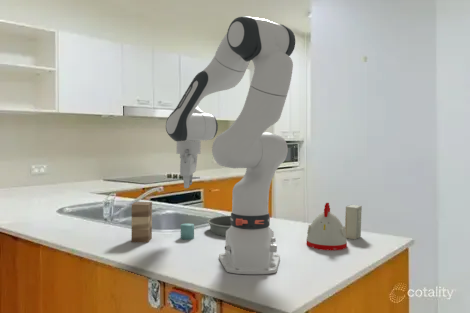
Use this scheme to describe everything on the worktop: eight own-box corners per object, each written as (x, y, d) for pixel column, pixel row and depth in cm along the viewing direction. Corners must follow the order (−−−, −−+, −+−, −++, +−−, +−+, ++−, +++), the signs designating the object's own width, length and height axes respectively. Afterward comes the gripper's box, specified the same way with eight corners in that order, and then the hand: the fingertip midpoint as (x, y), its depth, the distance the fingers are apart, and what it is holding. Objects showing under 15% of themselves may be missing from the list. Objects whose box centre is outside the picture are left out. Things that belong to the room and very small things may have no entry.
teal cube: (193, 239, 148) (193, 226, 148) (179, 239, 148) (179, 226, 148) (194, 236, 153) (194, 223, 153) (181, 236, 153) (181, 223, 153)
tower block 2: (148, 229, 144) (148, 217, 143) (131, 229, 144) (131, 216, 143) (151, 226, 150) (151, 214, 149) (135, 226, 150) (135, 213, 149)
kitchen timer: (302, 247, 140) (303, 204, 139) (310, 239, 152) (311, 199, 152) (344, 252, 134) (345, 207, 134) (348, 242, 147) (349, 201, 147)
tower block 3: (148, 242, 144) (148, 229, 144) (131, 242, 144) (131, 229, 144) (151, 238, 150) (151, 226, 150) (135, 238, 150) (135, 226, 150)
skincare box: (350, 235, 159) (350, 204, 159) (361, 236, 157) (362, 205, 156) (344, 238, 154) (345, 206, 154) (355, 239, 152) (356, 207, 151)
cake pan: (268, 226, 175) (268, 216, 175) (267, 239, 151) (267, 227, 151) (212, 224, 178) (212, 214, 178) (202, 237, 153) (202, 225, 153)
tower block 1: (148, 217, 143) (148, 204, 143) (131, 216, 143) (131, 204, 143) (151, 214, 149) (151, 202, 149) (135, 213, 149) (135, 201, 149)
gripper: (194, 149, 139) (193, 190, 140) (199, 148, 160) (198, 183, 160) (175, 149, 139) (175, 189, 140) (183, 148, 160) (182, 183, 160)
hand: (188, 186), depth 150 cm, fingers open, 8 cm apart
